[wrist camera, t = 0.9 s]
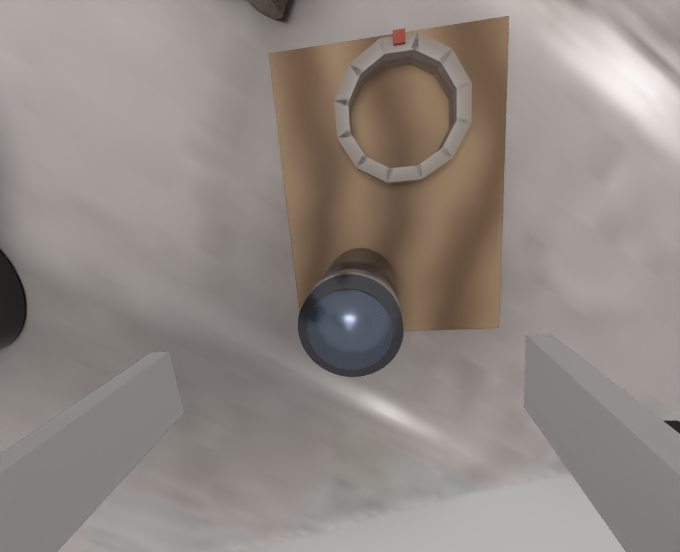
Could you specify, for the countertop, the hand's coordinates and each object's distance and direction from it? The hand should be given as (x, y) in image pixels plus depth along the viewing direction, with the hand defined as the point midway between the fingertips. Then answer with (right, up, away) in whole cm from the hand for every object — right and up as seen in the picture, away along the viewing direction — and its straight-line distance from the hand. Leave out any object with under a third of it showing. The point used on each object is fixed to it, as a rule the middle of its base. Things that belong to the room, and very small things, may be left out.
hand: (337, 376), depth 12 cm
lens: (+2, +3, +17) cm, 17 cm away
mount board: (+5, +11, +16) cm, 20 cm away
